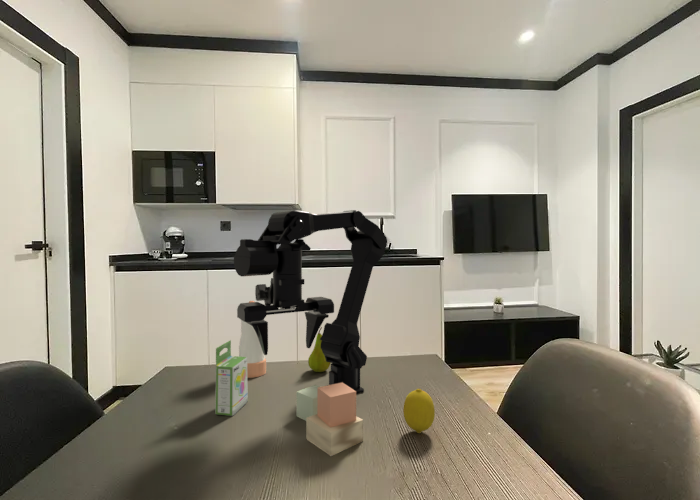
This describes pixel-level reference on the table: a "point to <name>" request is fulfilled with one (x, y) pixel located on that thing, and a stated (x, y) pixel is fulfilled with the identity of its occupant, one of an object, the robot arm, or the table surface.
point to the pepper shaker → (251, 351)
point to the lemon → (419, 410)
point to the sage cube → (307, 402)
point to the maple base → (333, 434)
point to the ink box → (230, 381)
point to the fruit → (318, 357)
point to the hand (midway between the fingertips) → (287, 351)
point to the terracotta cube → (336, 404)
